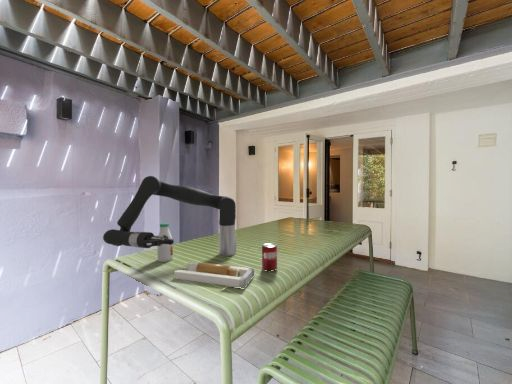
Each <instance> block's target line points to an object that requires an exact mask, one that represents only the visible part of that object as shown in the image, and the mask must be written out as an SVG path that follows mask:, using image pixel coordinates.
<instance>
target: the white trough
mask: <svg viewBox="0 0 512 384" xmlns="http://www.w3.org/2000/svg"><path fill="white" fill-rule="evenodd" d="M198 263H199V262H197V261H190V262H188V263H187V270H185V269H183V270H182V269H176V270H175V271H173V273H174V275H173V278H174V279H176V280H183V281H190V282H191V281H192V282H197V283H205V284H211V285H220V286H227V287H226V288H228V287H241V288H245V286H246V285H247V284H248V282H249V281H250V280H251V278H252V277H253V276H254V277H255V269H254V268H251V267H242V266H235V265H234V266H231V265H229V266H230V269H235V270H237V269H239V270H240V276H239V277H235V276H227V275H218V274H210V273H202V272H196V267H197V265H198ZM251 281H252V280H251ZM248 285H249V284H248ZM248 285H247V286H248ZM245 289H246V288H245Z"/></svg>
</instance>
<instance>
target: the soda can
mask: <svg viewBox="0 0 512 384" xmlns="http://www.w3.org/2000/svg"><path fill="white" fill-rule="evenodd" d="M275 269H277V270H278V245H277V244H276V243H272V242H271V243H269V242H268V243H263V244H262V245H261V270H262V271H264V270H267V271H271V270H275Z"/></svg>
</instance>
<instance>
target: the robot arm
mask: <svg viewBox="0 0 512 384" xmlns="http://www.w3.org/2000/svg"><path fill="white" fill-rule="evenodd" d="M152 196H157V197H164V198H165V197H166V198H169V199H173V200H175V201H178V202H182V203H185V204H189V205H194V206H199V207H200V206H203V207H204V206H205V207H211V208H214V209H216V210H218V213H219V219H218V229H219V231H218V232H219V233H218V234H219V235H218V236H219V238H218V240H219V241H218V242H219V247H218V248H219V255H220V256H224V257H225V256H226V257H229V256H230V257H231V256H233V255H236V253H237V236H236V219H237V218H236V217H237V215H236V214H237V213H236V212H237V211H236V210H237V209H236V208H237V206H236V202H235V200H234V199H233V198H231V196H223V195H217V194H212V193H210V192H207V191H204V190H201V189H199V188H196V187H192V186H187V185H181V184H180V185H179V184H177V185H176V184H170V183H167V182H164V181H161V180H159V179H158V178H157V177H155V176H153V175H148V176H146V177H144V178H143V179H142V181H141V183H140V186H139V187H138V189H137V192H136V193H135V195H134V197H133V199H132V200H131V201H130V202H129V204H128V206H127V207H126V209H125V210H124V212H122V214H121V216H120V217H119V218H118V220H117V221H116V222H117V223H116V224H117V225H118V227H119V229H107V230H106V231H105V232H104V233H103V237H102V239H103V241H104V242H105V244H108V245H112V246H115V247H122V246H125V247H134V248H140V249H151V248H152V247H157V246H161V245H164V244H169V245H171V244H173V245H174V241H175V240H174V239H173V238H172V239H168V237H167V236H166V235H163V237H161V236H158V235H154V233H153V232H149V231H131V229H132V227H133V225H134V224H135V222H136V221H137V220H138V218H139V216H140V214H141V213H142V211H143V208H144V207H145V205H146V203H147V202H148V200H149V199H150V197H152Z"/></svg>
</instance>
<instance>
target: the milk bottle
mask: <svg viewBox="0 0 512 384" xmlns="http://www.w3.org/2000/svg"><path fill="white" fill-rule="evenodd" d="M159 228H160V230H159V233H158V235H157V236H161V237H163V235H166V236H167V237H168V239H173V237H172V236H173V235H172V234H171V231H170V229H169V228H170V223H168V222H162V223H160V224H159ZM173 245H174V243H173V244H171V245H169V244H164V245H161V246H156V247H157V250H156V251H157V261H158V262H159V263H166V262H167V261H168V262H170V261H172V260H173V257H174V254H173V253H174V250H173V249H174V248H173V247H174V246H173ZM168 262H167V263H168Z"/></svg>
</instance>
